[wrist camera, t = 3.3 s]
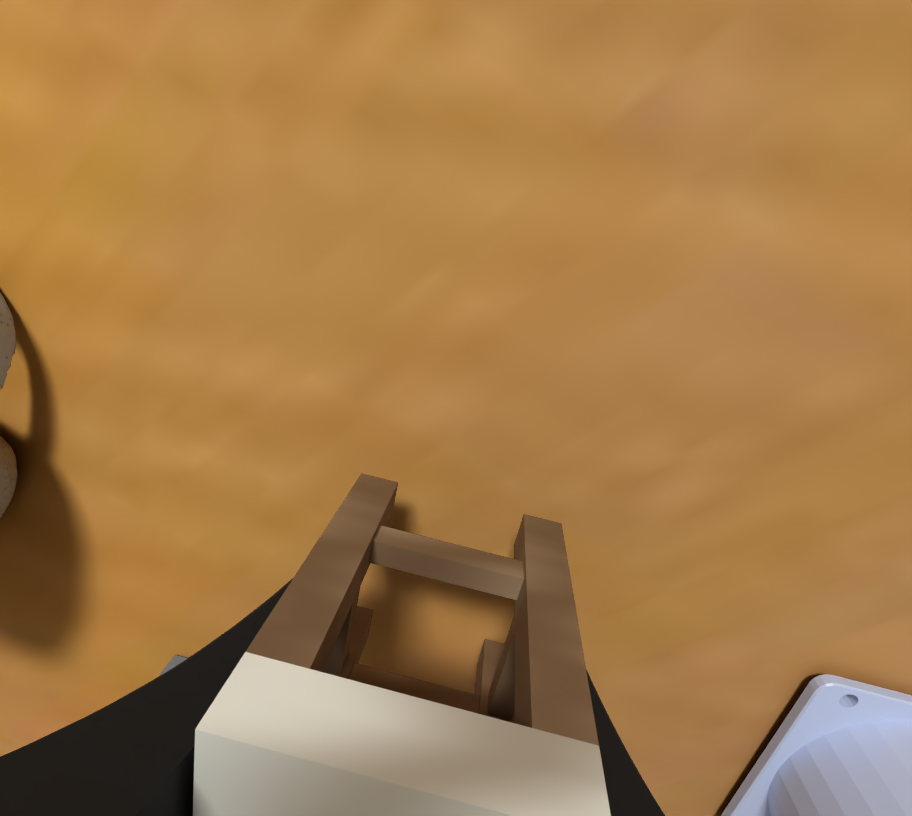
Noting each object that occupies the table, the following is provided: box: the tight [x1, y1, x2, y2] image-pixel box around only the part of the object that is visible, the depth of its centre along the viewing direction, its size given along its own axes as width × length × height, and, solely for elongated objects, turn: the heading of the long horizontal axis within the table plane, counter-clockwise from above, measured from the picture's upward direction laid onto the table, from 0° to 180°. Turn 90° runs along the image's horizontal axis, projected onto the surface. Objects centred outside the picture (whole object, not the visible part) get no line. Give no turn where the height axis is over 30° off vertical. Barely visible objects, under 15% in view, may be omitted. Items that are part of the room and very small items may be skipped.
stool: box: [193, 474, 611, 816], centre depth 10 cm, size 5×5×7 cm
